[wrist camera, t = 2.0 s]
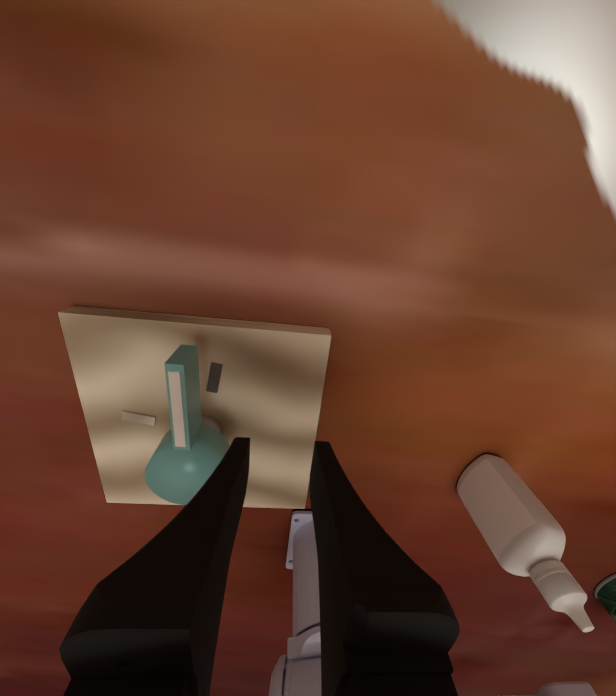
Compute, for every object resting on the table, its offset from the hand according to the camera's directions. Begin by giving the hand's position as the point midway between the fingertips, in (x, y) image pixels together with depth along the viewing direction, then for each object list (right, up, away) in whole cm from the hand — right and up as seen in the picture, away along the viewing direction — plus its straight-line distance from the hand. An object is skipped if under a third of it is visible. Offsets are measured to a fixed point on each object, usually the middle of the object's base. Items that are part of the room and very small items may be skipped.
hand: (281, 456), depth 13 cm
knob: (-7, 0, +7) cm, 10 cm away
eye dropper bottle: (+18, -8, +16) cm, 25 cm away
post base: (-7, -1, +12) cm, 14 cm away
